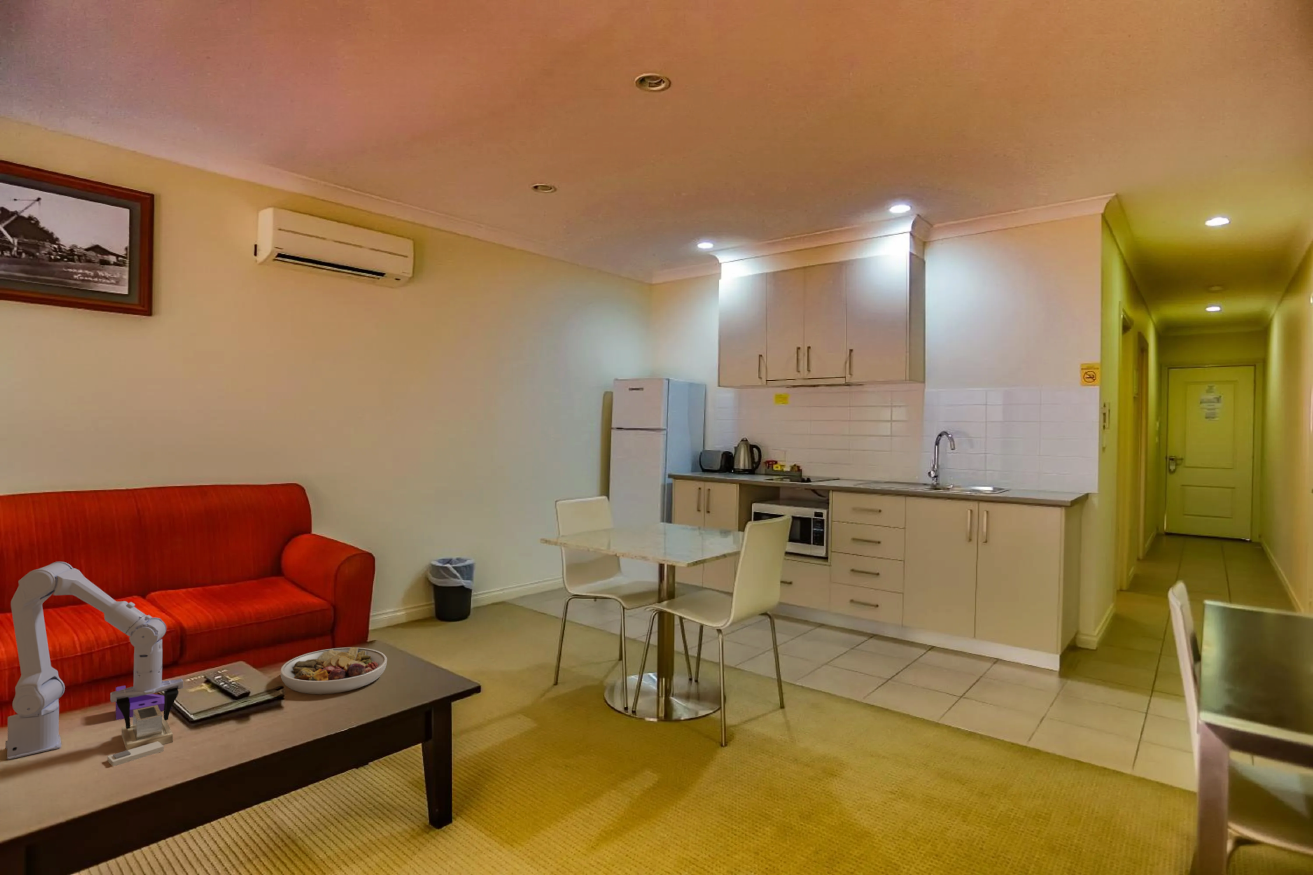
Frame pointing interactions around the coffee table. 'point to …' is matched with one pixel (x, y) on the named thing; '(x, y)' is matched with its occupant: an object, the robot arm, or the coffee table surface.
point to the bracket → (141, 703)
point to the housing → (147, 722)
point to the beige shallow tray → (133, 743)
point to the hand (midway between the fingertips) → (147, 722)
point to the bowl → (333, 670)
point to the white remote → (135, 753)
